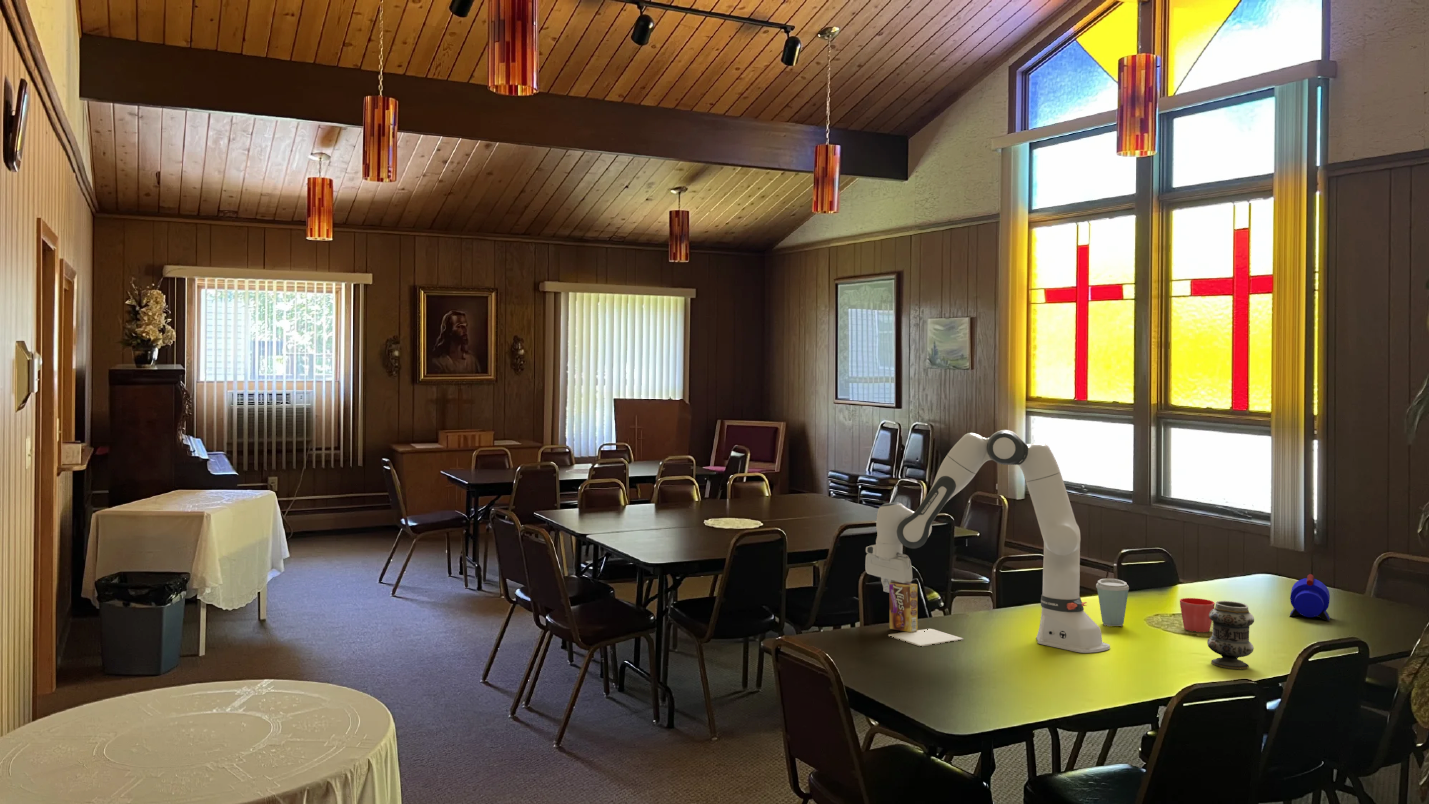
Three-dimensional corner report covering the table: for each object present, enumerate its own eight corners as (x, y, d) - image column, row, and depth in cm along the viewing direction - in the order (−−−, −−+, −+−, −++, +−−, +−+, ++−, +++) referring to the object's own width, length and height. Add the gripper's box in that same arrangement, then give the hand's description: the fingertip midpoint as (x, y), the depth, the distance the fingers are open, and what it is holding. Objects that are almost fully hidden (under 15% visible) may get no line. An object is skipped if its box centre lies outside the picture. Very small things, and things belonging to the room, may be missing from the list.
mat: (963, 640, 320) (963, 638, 320) (920, 646, 310) (920, 645, 310) (930, 630, 333) (930, 628, 333) (888, 636, 323) (888, 634, 323)
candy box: (918, 631, 328) (918, 583, 329) (910, 632, 326) (909, 585, 326) (897, 627, 335) (897, 581, 336) (888, 628, 333) (888, 582, 333)
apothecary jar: (1251, 673, 286) (1252, 609, 286) (1204, 666, 293) (1205, 604, 293) (1254, 663, 297) (1256, 602, 296) (1209, 657, 303) (1210, 597, 303)
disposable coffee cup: (1133, 628, 338) (1134, 584, 338) (1101, 628, 339) (1102, 583, 339) (1121, 621, 349) (1122, 578, 349) (1090, 621, 349) (1091, 577, 349)
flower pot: (1180, 631, 336) (1180, 602, 335) (1178, 624, 346) (1178, 596, 346) (1215, 635, 332) (1216, 605, 331) (1212, 628, 342) (1213, 599, 342)
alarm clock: (1329, 616, 363) (1330, 575, 362) (1329, 623, 352) (1330, 580, 352) (1290, 612, 369) (1291, 571, 369) (1288, 618, 359) (1289, 576, 359)
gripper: (917, 554, 330) (916, 597, 330) (876, 545, 347) (875, 585, 347) (902, 556, 326) (901, 598, 327) (862, 546, 344) (861, 587, 344)
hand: (888, 592), depth 337 cm, fingers closed
